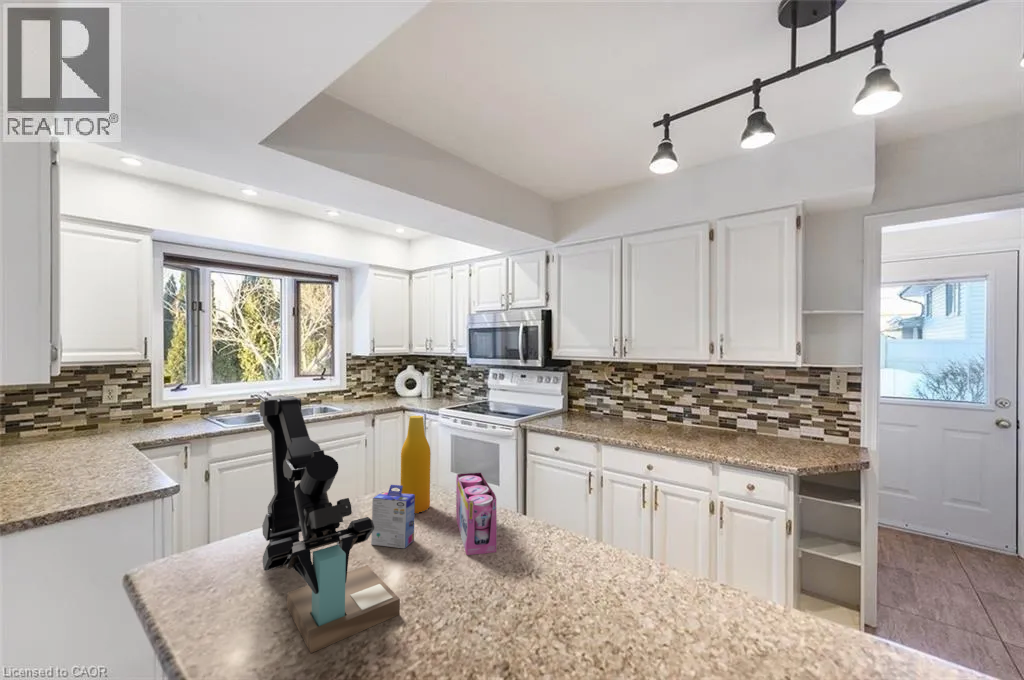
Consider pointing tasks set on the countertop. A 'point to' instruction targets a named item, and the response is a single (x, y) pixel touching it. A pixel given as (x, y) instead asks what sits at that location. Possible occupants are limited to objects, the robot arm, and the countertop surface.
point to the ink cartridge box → (393, 518)
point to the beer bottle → (416, 464)
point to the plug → (329, 585)
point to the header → (363, 609)
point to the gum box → (476, 513)
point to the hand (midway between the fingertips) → (331, 588)
